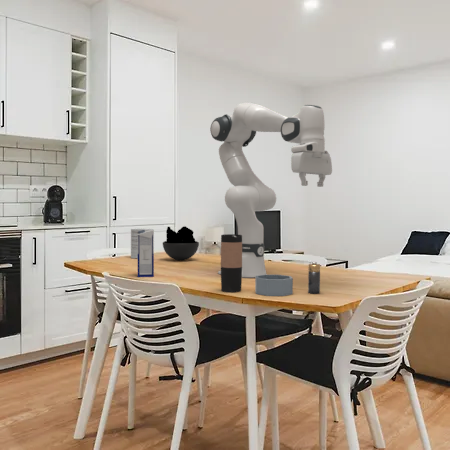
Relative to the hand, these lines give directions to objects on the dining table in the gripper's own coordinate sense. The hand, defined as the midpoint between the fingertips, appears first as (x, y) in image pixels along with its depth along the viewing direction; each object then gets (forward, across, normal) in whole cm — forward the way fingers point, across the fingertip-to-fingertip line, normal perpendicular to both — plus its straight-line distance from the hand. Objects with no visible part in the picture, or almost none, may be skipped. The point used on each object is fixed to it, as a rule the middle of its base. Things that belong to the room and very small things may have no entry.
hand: (312, 186), depth 183 cm
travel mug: (+38, +27, -16) cm, 49 cm away
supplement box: (+35, -8, -128) cm, 133 cm away
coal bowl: (+35, -18, -104) cm, 112 cm away
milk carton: (+36, +30, -67) cm, 82 cm away
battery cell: (+38, +8, +7) cm, 39 cm away
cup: (+38, +18, -3) cm, 42 cm away
